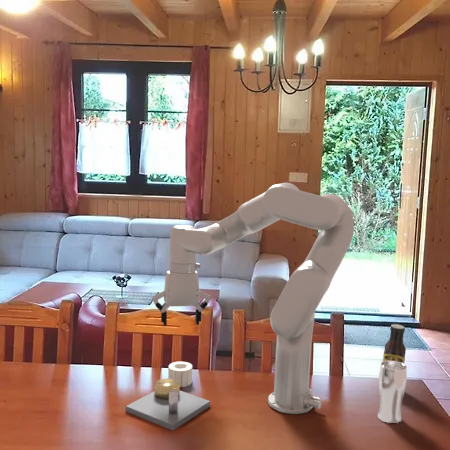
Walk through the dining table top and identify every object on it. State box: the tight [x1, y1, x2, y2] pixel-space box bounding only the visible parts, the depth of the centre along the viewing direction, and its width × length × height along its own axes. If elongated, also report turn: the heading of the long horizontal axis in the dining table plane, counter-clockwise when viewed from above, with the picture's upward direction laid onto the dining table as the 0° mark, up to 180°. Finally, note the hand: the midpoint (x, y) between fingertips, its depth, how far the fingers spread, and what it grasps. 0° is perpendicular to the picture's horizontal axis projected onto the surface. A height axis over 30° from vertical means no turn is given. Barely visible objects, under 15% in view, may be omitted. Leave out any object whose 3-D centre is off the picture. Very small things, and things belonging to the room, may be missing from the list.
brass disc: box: [153, 378, 181, 400], centre depth 149 cm, size 7×7×3 cm
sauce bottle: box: [382, 323, 407, 364], centre depth 159 cm, size 6×6×20 cm
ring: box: [167, 360, 193, 388], centre depth 160 cm, size 7×7×5 cm
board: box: [125, 390, 211, 431], centre depth 144 cm, size 16×16×2 cm
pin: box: [169, 390, 178, 415], centre depth 139 cm, size 2×2×6 cm
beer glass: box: [377, 360, 408, 424], centre depth 142 cm, size 7×7×15 cm
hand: (181, 324), depth 158 cm, fingers open, 9 cm apart
